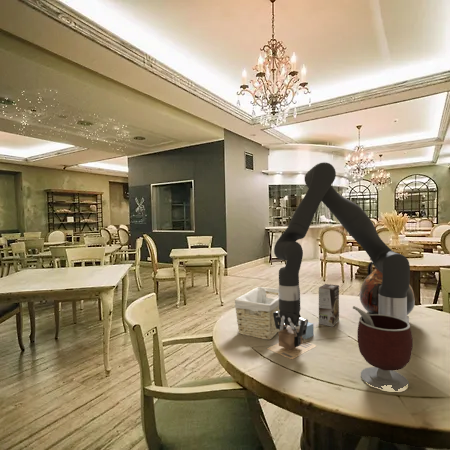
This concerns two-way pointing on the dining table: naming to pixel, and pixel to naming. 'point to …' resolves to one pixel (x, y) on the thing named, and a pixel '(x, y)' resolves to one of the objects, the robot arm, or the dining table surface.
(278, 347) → the letter
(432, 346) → the dining table surface
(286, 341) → the walnut block
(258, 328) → the storage basket
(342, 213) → the robot arm
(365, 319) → the mate gourd
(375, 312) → the amphora vase
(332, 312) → the coffee box
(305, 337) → the slate cube
